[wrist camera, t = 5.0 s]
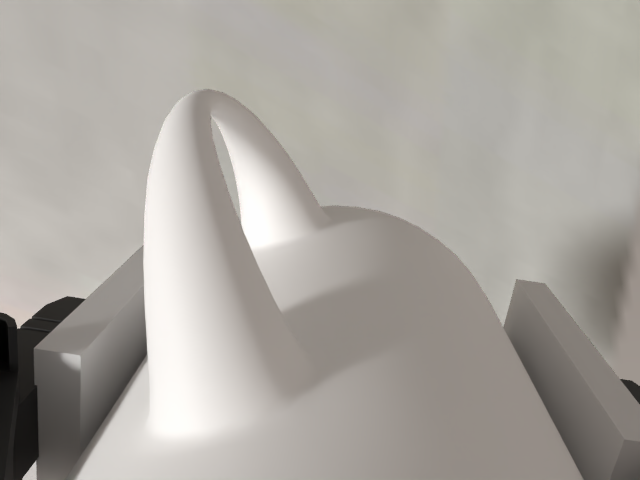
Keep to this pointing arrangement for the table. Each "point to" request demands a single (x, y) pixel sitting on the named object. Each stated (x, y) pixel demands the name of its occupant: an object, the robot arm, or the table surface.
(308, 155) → the table surface
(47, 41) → the table surface
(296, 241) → the mug
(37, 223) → the table surface
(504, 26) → the table surface
